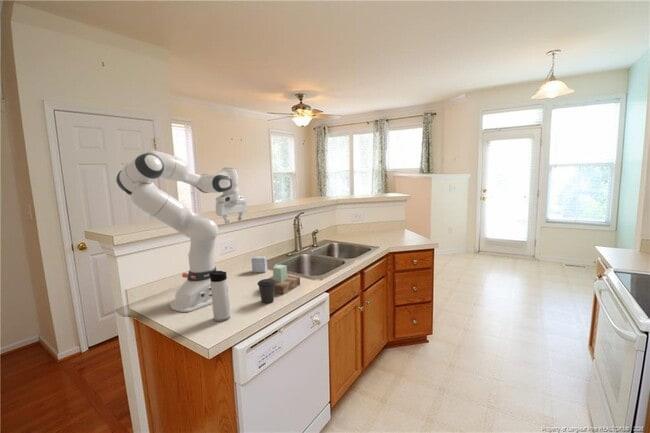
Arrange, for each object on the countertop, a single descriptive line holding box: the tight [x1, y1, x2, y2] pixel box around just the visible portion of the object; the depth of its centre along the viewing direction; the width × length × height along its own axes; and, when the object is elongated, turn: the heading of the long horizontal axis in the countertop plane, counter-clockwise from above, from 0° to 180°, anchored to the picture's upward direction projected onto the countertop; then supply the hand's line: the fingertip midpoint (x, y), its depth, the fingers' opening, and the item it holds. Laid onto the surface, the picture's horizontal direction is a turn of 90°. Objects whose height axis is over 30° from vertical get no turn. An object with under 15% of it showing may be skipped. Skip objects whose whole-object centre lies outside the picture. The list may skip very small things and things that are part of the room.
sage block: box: [272, 264, 288, 282], centre depth 151 cm, size 5×5×7 cm
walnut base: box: [267, 274, 301, 296], centre depth 152 cm, size 14×14×4 cm
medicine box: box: [251, 256, 268, 273], centre depth 177 cm, size 8×4×9 cm, turn 84°
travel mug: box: [209, 270, 231, 323], centre depth 120 cm, size 6×7×20 cm
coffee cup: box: [257, 278, 276, 305], centre depth 135 cm, size 8×8×10 cm
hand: (233, 221), depth 169 cm, fingers open, 8 cm apart
